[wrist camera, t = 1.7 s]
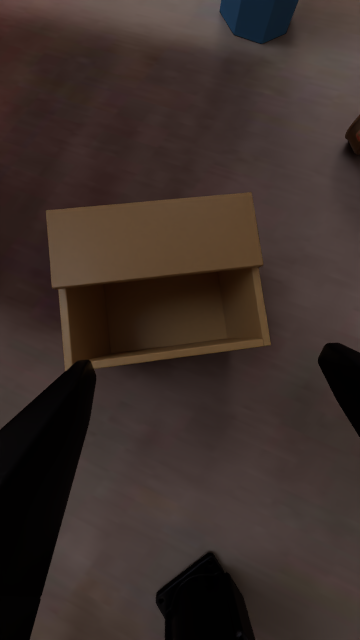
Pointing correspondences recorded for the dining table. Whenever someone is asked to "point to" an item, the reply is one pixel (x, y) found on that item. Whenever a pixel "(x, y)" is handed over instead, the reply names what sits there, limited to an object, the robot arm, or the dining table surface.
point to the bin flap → (152, 240)
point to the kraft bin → (163, 318)
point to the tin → (354, 135)
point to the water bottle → (258, 18)
